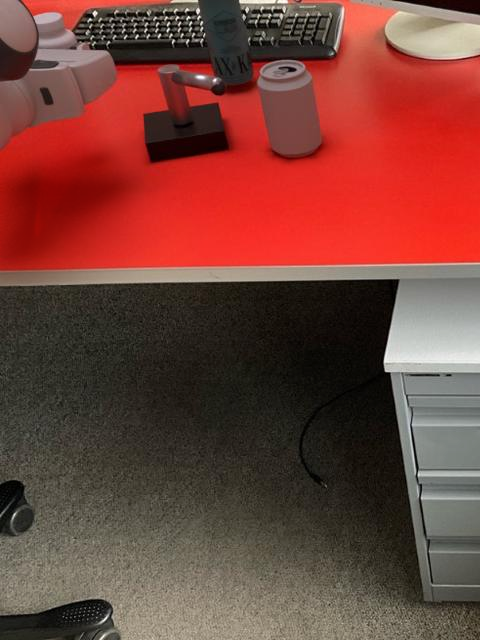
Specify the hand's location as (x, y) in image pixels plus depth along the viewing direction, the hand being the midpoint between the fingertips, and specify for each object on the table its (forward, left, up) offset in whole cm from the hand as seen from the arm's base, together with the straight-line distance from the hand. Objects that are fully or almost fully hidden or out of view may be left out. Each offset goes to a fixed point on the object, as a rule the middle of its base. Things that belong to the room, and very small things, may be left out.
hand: (61, 47), depth 119 cm
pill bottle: (0, -1, -6) cm, 6 cm away
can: (+28, -8, -16) cm, 33 cm away
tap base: (+13, 0, -16) cm, 20 cm away
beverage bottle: (+22, +17, -16) cm, 32 cm away
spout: (+16, -2, -13) cm, 20 cm away
